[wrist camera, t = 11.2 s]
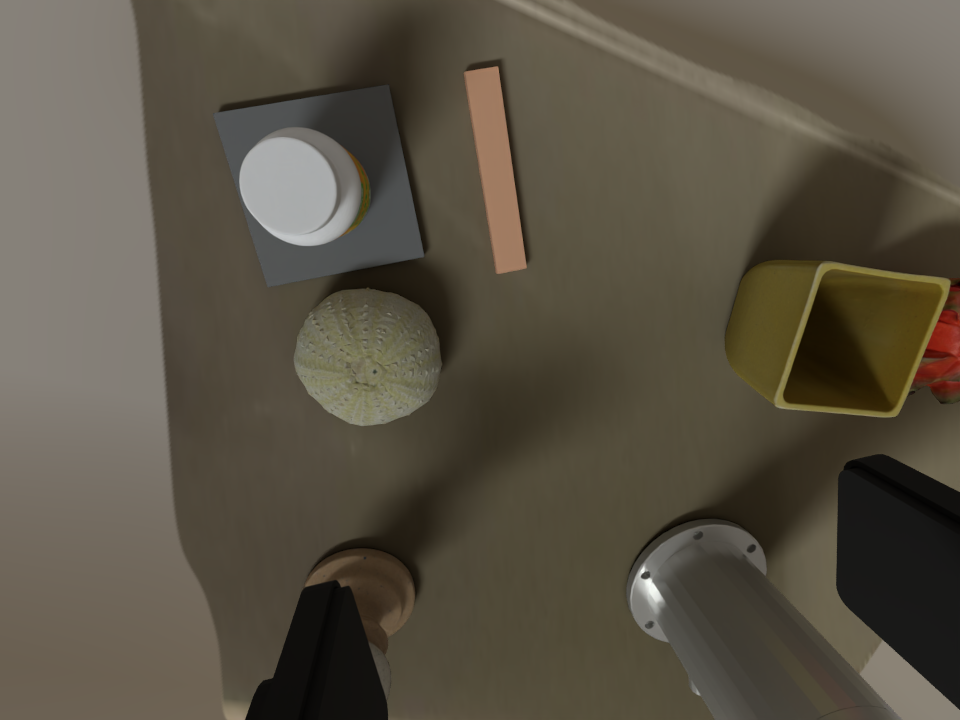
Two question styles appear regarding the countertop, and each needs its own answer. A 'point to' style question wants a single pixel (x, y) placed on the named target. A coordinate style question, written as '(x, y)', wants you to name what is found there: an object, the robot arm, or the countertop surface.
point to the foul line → (495, 168)
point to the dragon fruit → (943, 353)
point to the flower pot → (832, 334)
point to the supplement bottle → (304, 186)
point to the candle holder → (372, 596)
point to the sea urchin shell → (368, 356)
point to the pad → (376, 145)
